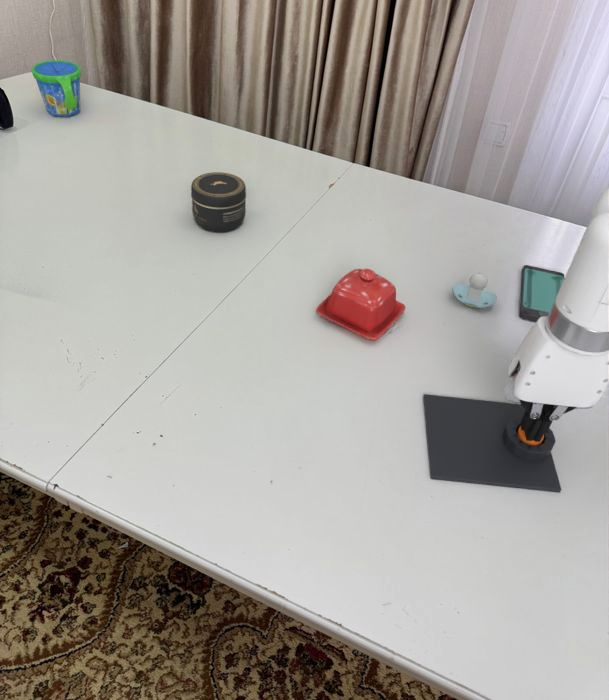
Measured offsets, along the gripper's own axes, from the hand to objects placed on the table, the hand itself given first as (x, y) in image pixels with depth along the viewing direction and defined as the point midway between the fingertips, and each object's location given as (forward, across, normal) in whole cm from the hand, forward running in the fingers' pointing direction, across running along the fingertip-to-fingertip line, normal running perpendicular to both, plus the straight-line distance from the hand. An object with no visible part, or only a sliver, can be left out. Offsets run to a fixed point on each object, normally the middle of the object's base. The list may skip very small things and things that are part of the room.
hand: (530, 432), depth 80 cm
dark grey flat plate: (+3, +5, 0) cm, 6 cm away
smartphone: (+3, -10, -34) cm, 35 cm away
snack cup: (+3, +94, -90) cm, 130 cm away
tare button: (+2, 0, 0) cm, 2 cm away
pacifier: (+3, +3, -31) cm, 31 cm away
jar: (+3, +49, -48) cm, 69 cm away
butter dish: (+3, +22, -24) cm, 33 cm away
